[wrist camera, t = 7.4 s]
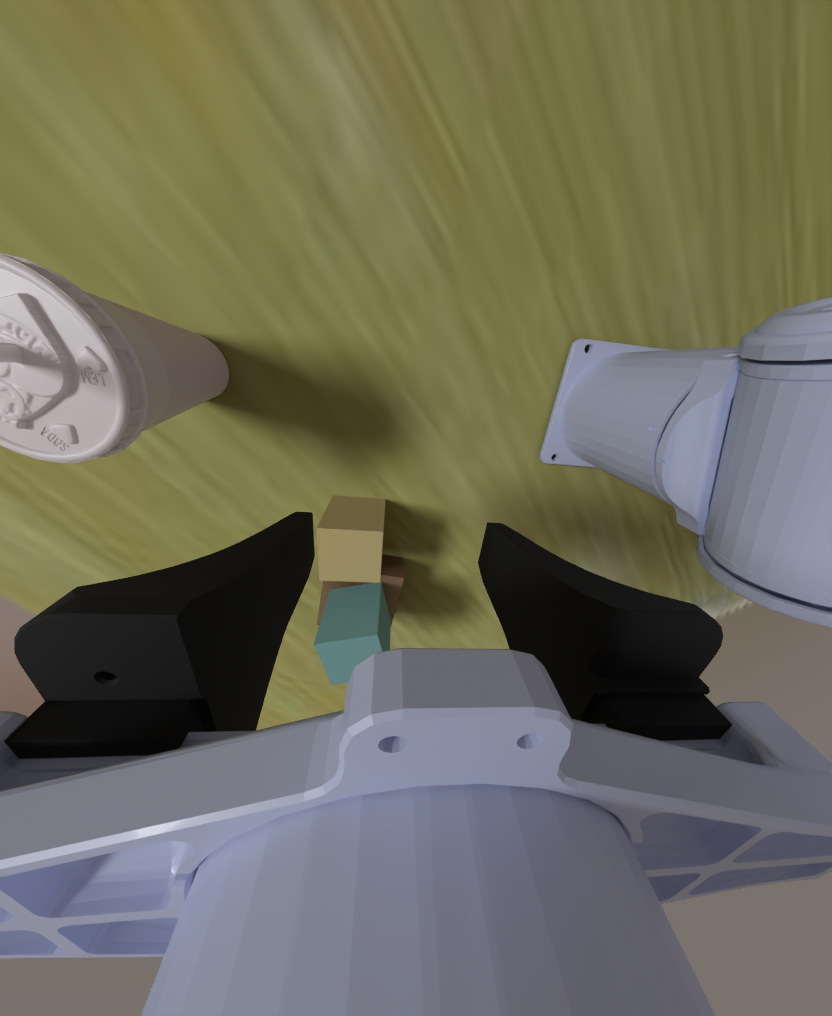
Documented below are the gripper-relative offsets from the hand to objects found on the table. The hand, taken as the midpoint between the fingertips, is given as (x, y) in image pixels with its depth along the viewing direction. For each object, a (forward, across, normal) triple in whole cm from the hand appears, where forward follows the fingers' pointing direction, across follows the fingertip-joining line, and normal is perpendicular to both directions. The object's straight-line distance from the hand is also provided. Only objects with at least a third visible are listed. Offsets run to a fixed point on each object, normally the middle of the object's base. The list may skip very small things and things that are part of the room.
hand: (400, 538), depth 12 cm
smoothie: (+11, +13, -5) cm, 17 cm away
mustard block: (+10, +3, +5) cm, 12 cm away
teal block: (+8, +2, +11) cm, 14 cm away
